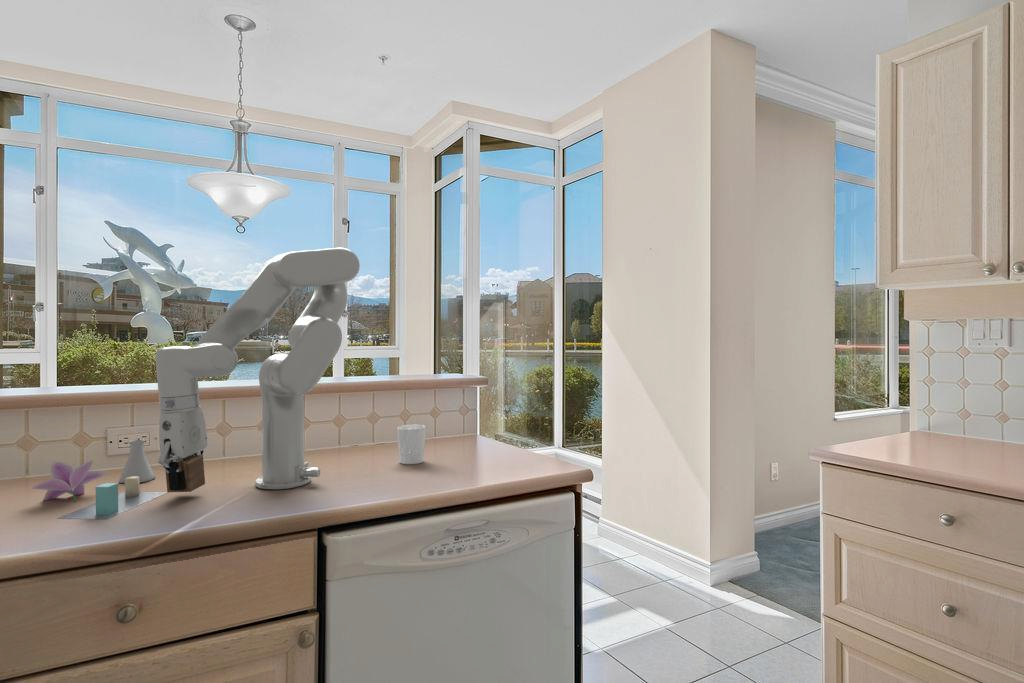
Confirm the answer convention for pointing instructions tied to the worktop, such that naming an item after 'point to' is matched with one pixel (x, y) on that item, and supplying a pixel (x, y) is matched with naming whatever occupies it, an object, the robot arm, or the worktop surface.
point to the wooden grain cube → (191, 473)
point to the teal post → (107, 498)
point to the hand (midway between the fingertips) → (186, 484)
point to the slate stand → (125, 502)
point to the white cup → (411, 443)
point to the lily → (68, 480)
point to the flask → (137, 463)
